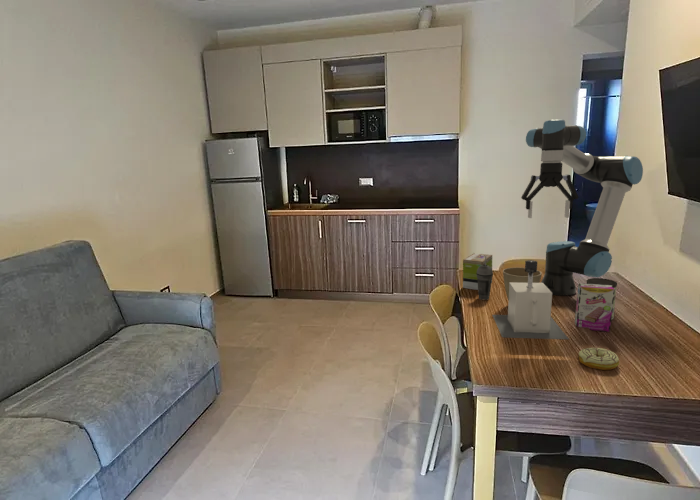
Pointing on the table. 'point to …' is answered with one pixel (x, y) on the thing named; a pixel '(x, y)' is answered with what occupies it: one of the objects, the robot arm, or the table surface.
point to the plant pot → (518, 277)
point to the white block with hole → (529, 307)
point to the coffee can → (604, 282)
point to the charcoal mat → (509, 333)
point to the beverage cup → (484, 281)
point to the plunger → (530, 270)
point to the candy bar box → (594, 306)
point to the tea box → (474, 269)
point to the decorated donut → (599, 358)
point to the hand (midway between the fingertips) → (548, 217)
